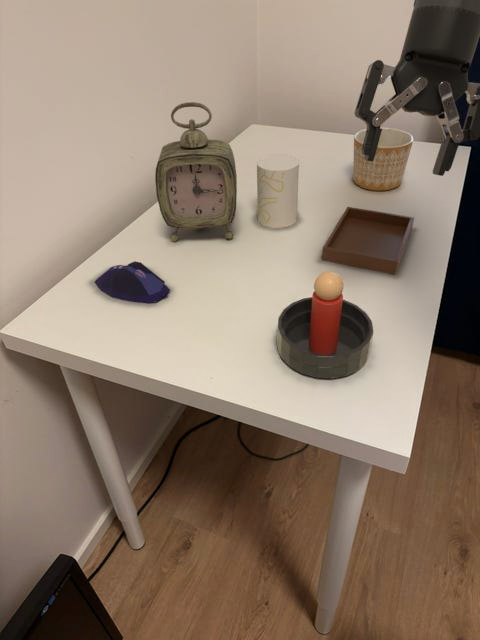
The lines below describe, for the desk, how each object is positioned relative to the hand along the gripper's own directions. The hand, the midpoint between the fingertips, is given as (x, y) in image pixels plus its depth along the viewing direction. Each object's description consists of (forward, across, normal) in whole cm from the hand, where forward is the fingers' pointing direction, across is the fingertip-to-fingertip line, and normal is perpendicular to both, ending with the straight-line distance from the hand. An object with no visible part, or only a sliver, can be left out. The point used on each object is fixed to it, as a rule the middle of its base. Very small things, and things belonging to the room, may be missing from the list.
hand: (403, 168), depth 58 cm
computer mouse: (+28, -34, +18) cm, 48 cm away
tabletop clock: (+20, -25, +35) cm, 48 cm away
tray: (+15, +6, +30) cm, 34 cm away
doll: (+26, -3, +3) cm, 26 cm away
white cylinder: (+15, -11, +41) cm, 45 cm away
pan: (+26, -3, +3) cm, 26 cm away
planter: (+5, +11, +57) cm, 58 cm away
